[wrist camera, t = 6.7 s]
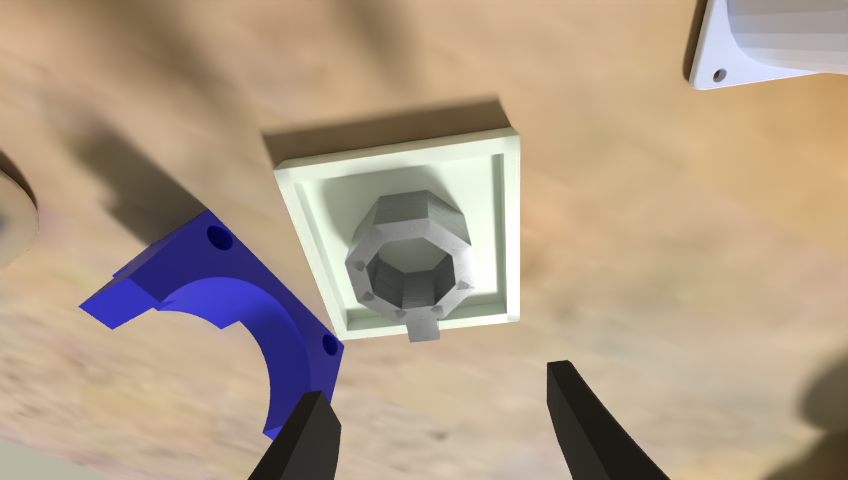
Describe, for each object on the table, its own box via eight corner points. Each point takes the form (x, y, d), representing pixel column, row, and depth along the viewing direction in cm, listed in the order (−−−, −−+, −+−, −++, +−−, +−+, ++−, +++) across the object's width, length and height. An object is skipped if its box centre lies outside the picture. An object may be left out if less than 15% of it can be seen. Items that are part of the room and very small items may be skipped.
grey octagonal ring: (461, 184, 17) (468, 212, 14) (472, 297, 21) (479, 334, 18) (346, 200, 17) (333, 230, 15) (377, 308, 21) (371, 346, 18)
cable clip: (153, 243, 19) (55, 320, 14) (210, 207, 18) (127, 277, 13) (294, 365, 25) (260, 453, 20) (344, 344, 24) (323, 430, 18)
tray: (512, 126, 16) (520, 134, 15) (513, 303, 22) (519, 320, 20) (284, 159, 17) (272, 170, 15) (343, 322, 22) (338, 340, 21)
